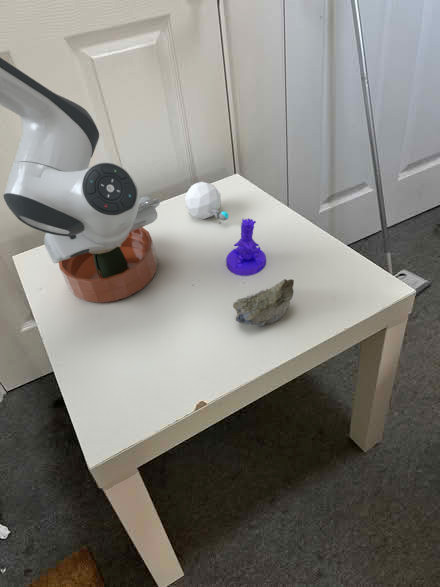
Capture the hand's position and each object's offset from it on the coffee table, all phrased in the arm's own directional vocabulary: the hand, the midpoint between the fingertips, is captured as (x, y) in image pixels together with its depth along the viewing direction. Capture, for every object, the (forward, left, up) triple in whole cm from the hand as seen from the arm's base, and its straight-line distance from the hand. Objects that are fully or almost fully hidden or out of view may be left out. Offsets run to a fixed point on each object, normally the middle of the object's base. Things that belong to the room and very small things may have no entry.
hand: (101, 239), depth 88 cm
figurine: (+25, -11, -8) cm, 28 cm away
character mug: (0, -1, -8) cm, 8 cm away
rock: (+22, -25, -8) cm, 34 cm away
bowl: (0, -1, -8) cm, 8 cm away
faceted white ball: (+24, +7, -8) cm, 27 cm away
